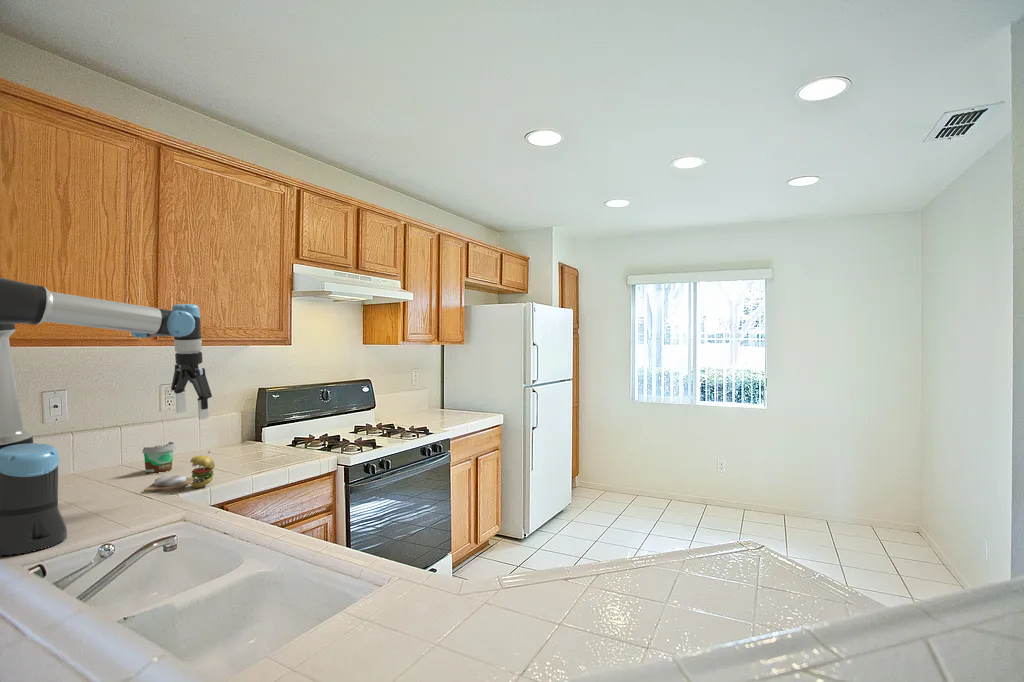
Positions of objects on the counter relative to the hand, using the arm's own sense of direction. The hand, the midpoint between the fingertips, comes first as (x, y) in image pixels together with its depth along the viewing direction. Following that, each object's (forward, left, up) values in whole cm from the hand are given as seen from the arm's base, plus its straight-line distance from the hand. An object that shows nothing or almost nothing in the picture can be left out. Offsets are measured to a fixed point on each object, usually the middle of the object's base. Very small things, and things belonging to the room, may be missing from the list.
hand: (192, 415), depth 178 cm
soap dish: (-8, +7, -25) cm, 27 cm away
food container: (-18, +31, -25) cm, 44 cm away
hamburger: (+2, +4, -25) cm, 25 cm away
